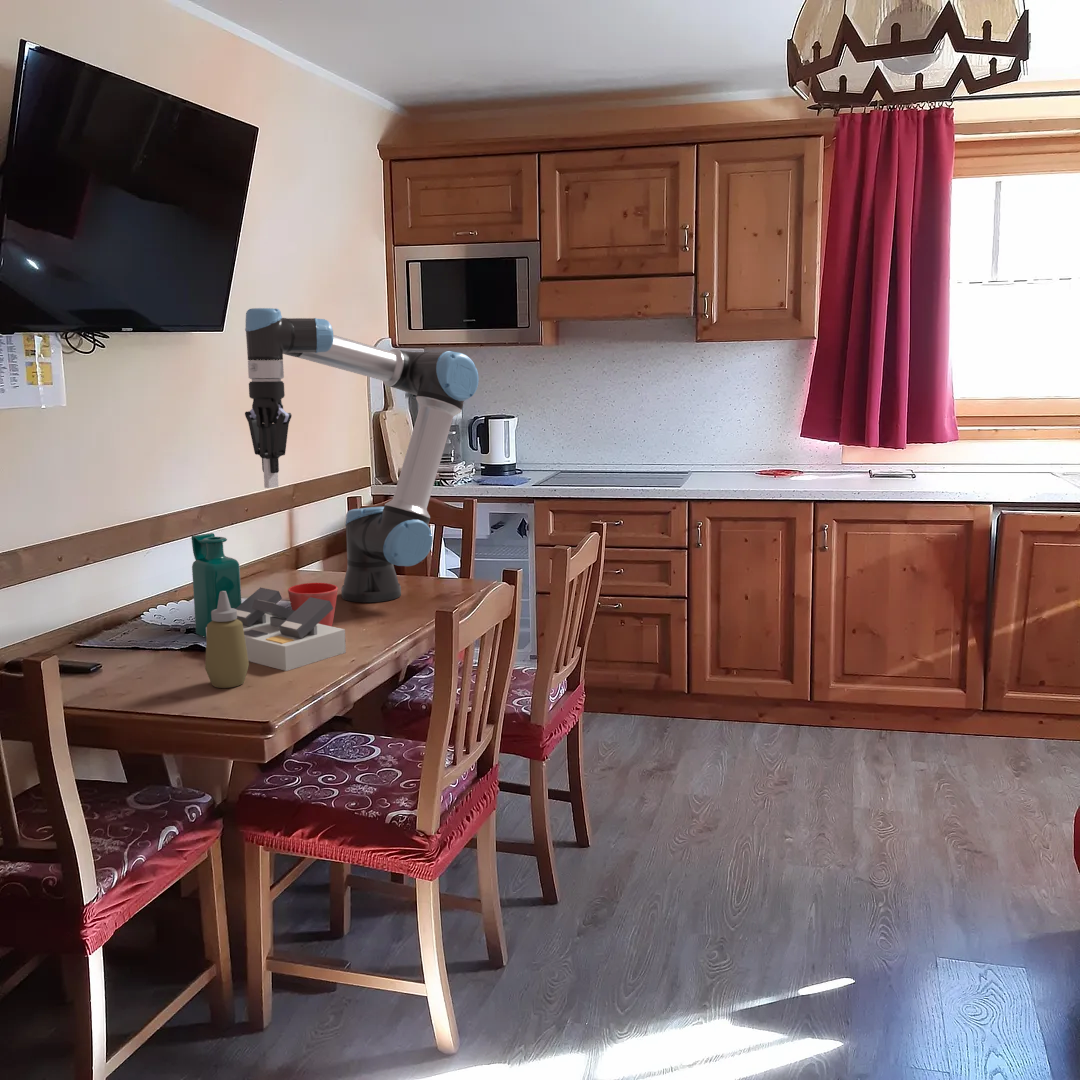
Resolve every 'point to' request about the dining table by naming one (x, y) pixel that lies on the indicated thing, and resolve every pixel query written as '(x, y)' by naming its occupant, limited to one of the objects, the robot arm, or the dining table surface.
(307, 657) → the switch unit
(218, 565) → the pitcher
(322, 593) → the flower pot
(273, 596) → the rocker
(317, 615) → the rocker
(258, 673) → the dining table surface
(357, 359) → the robot arm
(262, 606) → the rocker
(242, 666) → the squeeze bottle
